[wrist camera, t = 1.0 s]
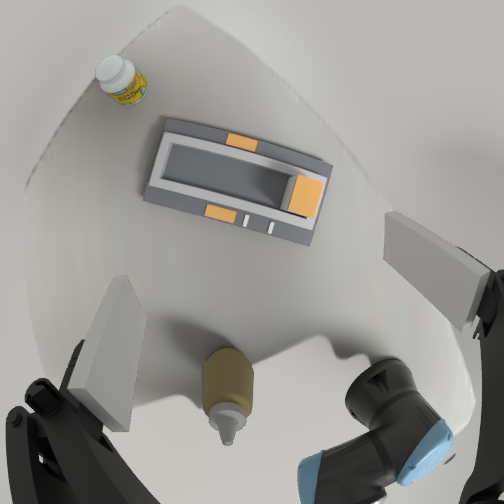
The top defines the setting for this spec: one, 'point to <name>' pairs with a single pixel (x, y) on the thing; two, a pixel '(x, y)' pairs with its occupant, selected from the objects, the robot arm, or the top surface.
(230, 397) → the squeeze bottle
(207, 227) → the top surface
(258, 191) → the console board
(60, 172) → the top surface
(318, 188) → the fader tab
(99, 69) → the supplement bottle
